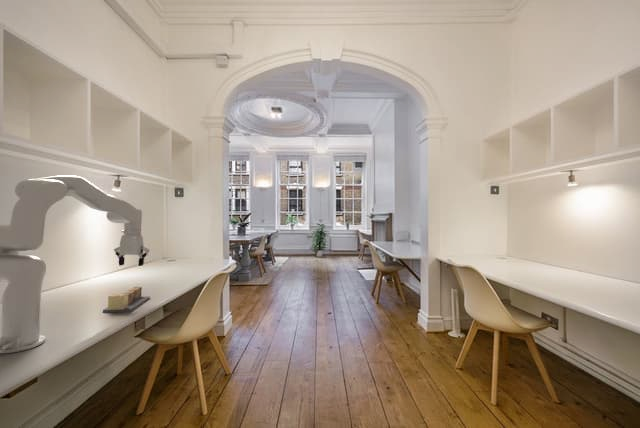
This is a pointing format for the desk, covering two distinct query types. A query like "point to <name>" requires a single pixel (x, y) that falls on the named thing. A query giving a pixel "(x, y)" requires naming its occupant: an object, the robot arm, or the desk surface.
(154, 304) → the desk surface
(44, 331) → the desk surface
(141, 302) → the tong mat
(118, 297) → the tan block
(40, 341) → the robot arm
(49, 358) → the desk surface
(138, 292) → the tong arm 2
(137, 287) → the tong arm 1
